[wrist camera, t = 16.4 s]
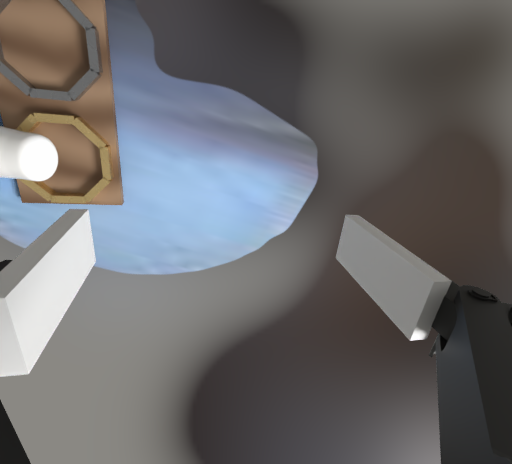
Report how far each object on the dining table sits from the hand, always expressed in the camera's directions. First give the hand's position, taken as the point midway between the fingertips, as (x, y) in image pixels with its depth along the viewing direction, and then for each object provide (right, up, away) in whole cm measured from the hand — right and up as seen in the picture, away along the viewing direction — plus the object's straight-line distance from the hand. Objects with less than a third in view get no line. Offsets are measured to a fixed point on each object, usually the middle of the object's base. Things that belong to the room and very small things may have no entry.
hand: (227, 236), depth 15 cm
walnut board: (-24, +17, +23) cm, 37 cm away
